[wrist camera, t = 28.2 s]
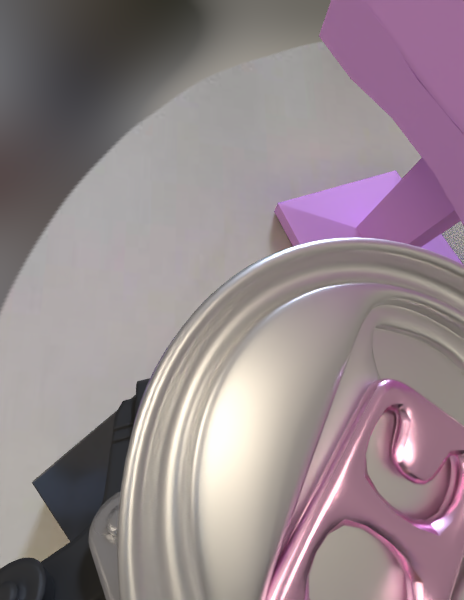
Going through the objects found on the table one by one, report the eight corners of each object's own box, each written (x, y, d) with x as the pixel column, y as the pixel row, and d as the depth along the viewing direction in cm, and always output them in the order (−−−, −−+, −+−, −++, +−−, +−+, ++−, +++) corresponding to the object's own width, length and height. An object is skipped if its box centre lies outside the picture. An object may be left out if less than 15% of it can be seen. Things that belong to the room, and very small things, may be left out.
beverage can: (159, 424, 16) (-97, 602, 2) (222, 343, 18) (315, 149, 4) (241, 494, 15) (736, 1508, 1) (297, 402, 17) (724, 415, 3)
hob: (165, 673, 15) (158, 742, 12) (41, 483, 17) (8, 501, 14) (339, 453, 19) (365, 463, 17) (225, 326, 22) (230, 314, 19)
